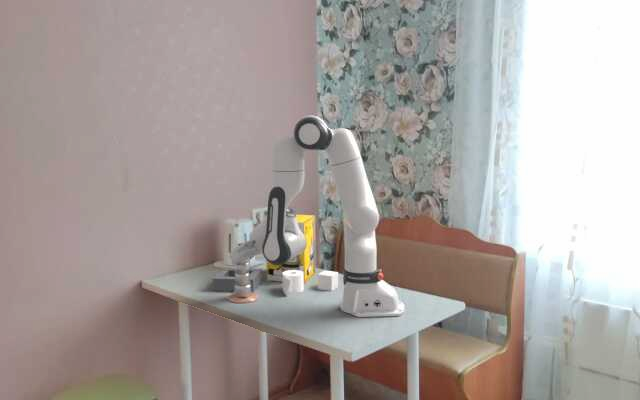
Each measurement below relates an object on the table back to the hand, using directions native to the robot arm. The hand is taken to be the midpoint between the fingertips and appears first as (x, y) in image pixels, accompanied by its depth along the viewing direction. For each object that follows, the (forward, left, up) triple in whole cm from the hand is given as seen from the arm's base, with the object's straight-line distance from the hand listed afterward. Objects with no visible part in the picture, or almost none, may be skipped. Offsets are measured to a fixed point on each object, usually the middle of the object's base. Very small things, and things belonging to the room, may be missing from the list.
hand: (240, 261), depth 211 cm
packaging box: (-14, -30, -14) cm, 36 cm away
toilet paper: (-17, -10, -14) cm, 24 cm away
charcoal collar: (+5, -15, -14) cm, 21 cm away
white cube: (-31, -16, -14) cm, 37 cm away
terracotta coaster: (-1, 0, -14) cm, 14 cm away
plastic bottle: (0, 0, -14) cm, 14 cm away
